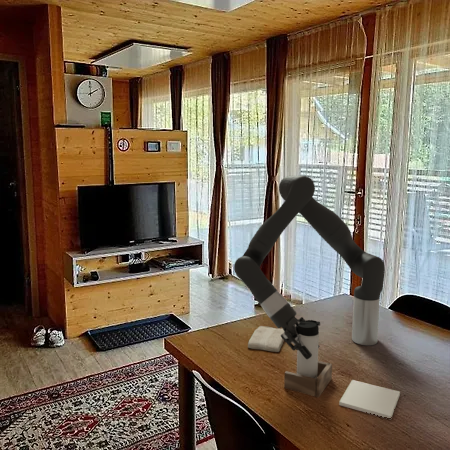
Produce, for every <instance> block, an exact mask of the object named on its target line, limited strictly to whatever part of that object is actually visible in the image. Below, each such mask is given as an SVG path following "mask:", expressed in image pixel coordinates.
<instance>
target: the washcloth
mask: <svg viewBox="0 0 450 450" xmlns="http://www.w3.org/2000/svg"><path fill="white" fill-rule="evenodd" d="M283 333H284V330H283V328H277V327H276V328H275V327H271V326H263V325H260V326H258V327H257V328H256V329H254V332H253V333H252V335H251V337H250V339H249V340H248V343H247V348H249V349H252V350H260V351H261V350H262V351H265V352H266V351H268V352H274V353H279V352H280V350H281V348H282V346H283V344H284V342H285V341H284V340H283V339H282V337H281V334H283Z"/></svg>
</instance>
